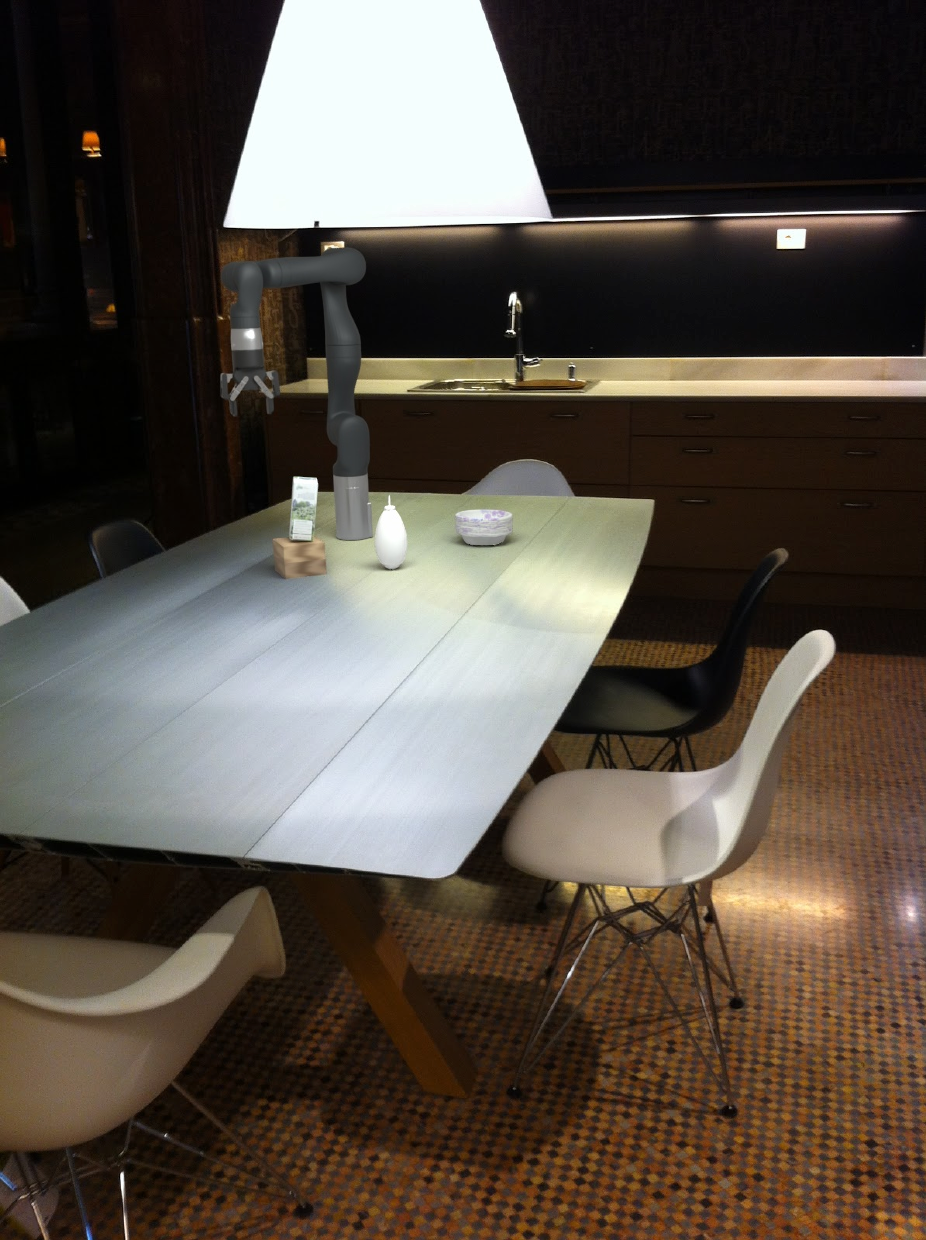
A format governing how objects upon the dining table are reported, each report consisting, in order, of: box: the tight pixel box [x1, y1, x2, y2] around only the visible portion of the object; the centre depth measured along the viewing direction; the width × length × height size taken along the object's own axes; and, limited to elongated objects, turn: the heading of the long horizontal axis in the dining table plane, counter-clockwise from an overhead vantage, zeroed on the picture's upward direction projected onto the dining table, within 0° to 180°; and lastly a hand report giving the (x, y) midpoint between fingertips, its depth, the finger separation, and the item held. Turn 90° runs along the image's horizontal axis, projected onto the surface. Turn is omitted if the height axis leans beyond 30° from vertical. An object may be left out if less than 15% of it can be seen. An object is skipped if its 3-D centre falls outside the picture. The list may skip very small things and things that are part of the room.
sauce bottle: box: [374, 495, 408, 570], centre depth 279 cm, size 8×8×18 cm
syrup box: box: [288, 476, 319, 541], centre depth 276 cm, size 6×6×14 cm
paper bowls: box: [454, 509, 514, 546], centre depth 306 cm, size 15×15×8 cm
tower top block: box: [272, 535, 326, 564], centre depth 279 cm, size 10×10×4 cm
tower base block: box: [273, 555, 327, 580], centre depth 280 cm, size 10×10×4 cm
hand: (252, 414), depth 286 cm, fingers open, 8 cm apart
